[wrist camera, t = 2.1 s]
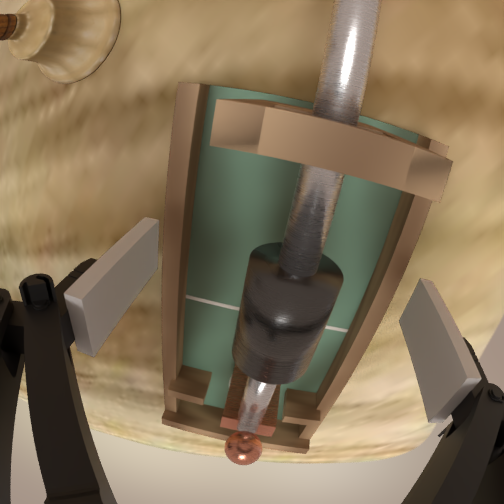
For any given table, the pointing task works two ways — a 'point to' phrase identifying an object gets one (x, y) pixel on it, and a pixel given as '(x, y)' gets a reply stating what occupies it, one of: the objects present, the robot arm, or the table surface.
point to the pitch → (273, 230)
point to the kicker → (297, 253)
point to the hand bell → (63, 35)
